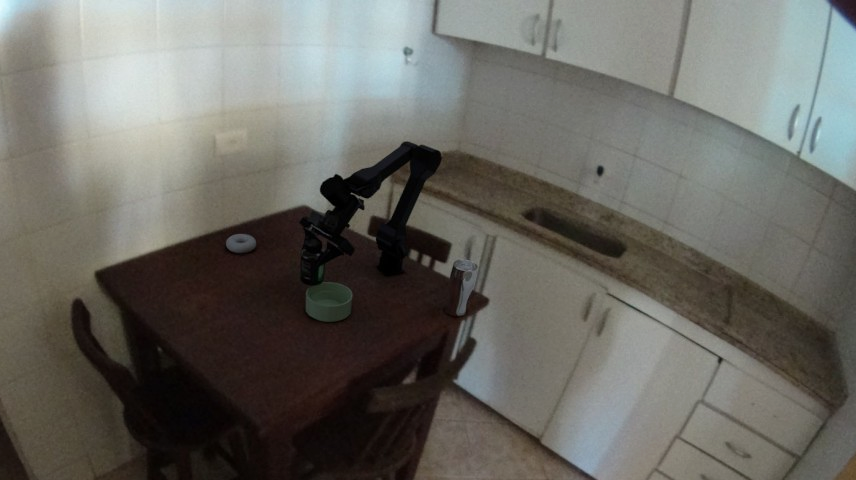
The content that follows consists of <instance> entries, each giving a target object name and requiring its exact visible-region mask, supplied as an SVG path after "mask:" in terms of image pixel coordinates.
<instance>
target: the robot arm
mask: <svg viewBox="0 0 856 480" xmlns="http://www.w3.org/2000/svg"><path fill="white" fill-rule="evenodd" d="M442 161H443V157H442V153H441V151H440V150H438V149H436V148H433V147H430V146H428V145H425V144H419V145H418V144H417V143H414V142H412V141H409V140H407V141H402V143H401V144H400V145H399V146H398V147H396V149H394V150H393V151H392V152H390V153H389V154H387V155H386V156H385V157H383V158H382V159H381V160H379V161H378V162H376V163H375V164H373V165H371V166H369V167H364V168H361V169H359V170H356V171H355V172H353V173H352V174H351V175H350V176H347V177H346V178H343V177H342V176H341V175H340V174H338V173H335V174H334V175H333V176H331V177H328V178H326V179H325V180H324V181H322V183H321V184H320V187H319V193H320V195H322V197H323V198H325V199H326V200H327V201H328V203H330V204H331V206H333V208H332V209H327V210H326V211H325V212H322V211H318V210H316V209H315V210H314V209H312V210H311V212H310V214H309V216H308V215H305V216H302V217H301V219H300V221H298V223H299V224H300V225H301V226H302V230H303V231H304V240H303V243H302V246H301V251H300V253H299V254H300V255H299V256H300V257H301V252H302V251H303V250H304V246H305V241H306V240H308V239H312V238H314V239H319V240H321V239H320V238H319V237H318V236H321V237H322V238H324V239H326V240H328V241H326V248H325V250H323V251H324V253H323V254H322V256H321V257H320V259H319V260H318V262H317V264H316V266H317V267H320V266H322V265H323V264H325V265H326V264H327V263H329V262H330V261H332V260H334V259H336V258H339V257H340V256H342V257H343V256H345V254H346V255H347V256H349V257H352V256H353V254H354V253H355V251H356V246H355V245H354V244H353V243H352V242H351V241H349V239H348V238H345V237H344V236H342V233H343V232H344V230H345V228H347V229H349V228H350V227H351V224H350V222H351V220H352V219H353V217H354V216H355V214H356V213H357V211H358V210H361V211H365V208H366V207H365V200H364V199H366V200H368V199H370V198H373V196H374V195H375V194H376V193H377V192H379V190H380V189H381V187H382V183H383V182H384V181H385V180H386V179H388V178H389V177H390V176H392V175H393V174H394V173H396V172H397V171H399V170H400V169H402V168H403V167H404V166H406V164H408V163H409V173H410V174H409V175H408V179H407V180H406V183H405V185H404V188H403V190H402V192H401V194H400V197H399V198H398V201H397V203H396V206H395V207H394V210H393V212H392V215H391V217H390V219H389V220H388V221H387V222H384V223H383V222H382V223H381V224H380V225H379V228H378V231H377V232H376V233H375V236H376V237H375V243H376V245H377V249H378V250H379V251H381V255H380V257H379V262H378V265H376V267H377V269H379V270H380V271H381V272H382V273H383V274H384V275H385V276H387V277H388V276H394V275H399V274H404V273H405V270H404V268H403V261H404V259H406V258H405V257H408V256H409V253H410V250H411V249H410V248H409V247H408V245H406V243H405V242H406V238H407V229H406V226H407V224H408V222H409V220H410V217H411V215H412V212H413V210H414V208H415V206H416V204H417V201H418V199H419V197H420V194H421V192H422V190H423V188H424V186H425V183H426V181H427V180H429V179H430V178H431V177H432V176H434V175H435V174H436V173H437V171H438V168H439V167H440V165H441V163H442Z"/></svg>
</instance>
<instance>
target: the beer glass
mask: <svg viewBox="0 0 856 480" xmlns="http://www.w3.org/2000/svg"><path fill="white" fill-rule="evenodd" d="M478 269H479V267H478V264H477V263H476V262H474V261H472V260H469V259H456V260H454V262H453V263H452V267H451V271H450V275H449V280H448V300H447V303H446V305H445V308H444V311H445V313H446V314H448V315H449V316H451V317H454V318H461V317H464V316H466V315H467V313H468V302H469V299H470V297H471V294H472V292H473V290H474V287H475V284H476V280H477V274H478Z"/></svg>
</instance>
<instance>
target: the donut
mask: <svg viewBox="0 0 856 480" xmlns="http://www.w3.org/2000/svg"><path fill="white" fill-rule="evenodd" d="M225 246H226V248H227V249H228V250H229V251H230V252H232V253H236V254H247V253H250V252H252V251H254V250H255V249H256V247H257V241H256V239H255V237H253V236H252V235H250V234H248V233H236V234H233V235H230V236H229V237H228V238H227V239H226V241H225Z"/></svg>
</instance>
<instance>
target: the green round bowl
mask: <svg viewBox="0 0 856 480" xmlns="http://www.w3.org/2000/svg"><path fill="white" fill-rule="evenodd" d="M353 296H354V294H353V292H352V290H351V289H350V288H349V287H348V286H346V285H345V284H341V283H339V282H334V281H333V282H332V281H323V283H322V284H320V285H317V286H309V287H308V288H307V289H306V291H305V300H304V302H305V303H304V304H305V305H304V309H305V312H306V313H307V315H308V316H309V317H312V318H313V319H315V320H317V321H321V322H324V323H325V322H326V323H327V322H328V323H334V322H339V321H343V320H344V319H346V318H348V317H349V316H350V315H351V313H352V310H353V309H352V307H353V299H354V298H353Z"/></svg>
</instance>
